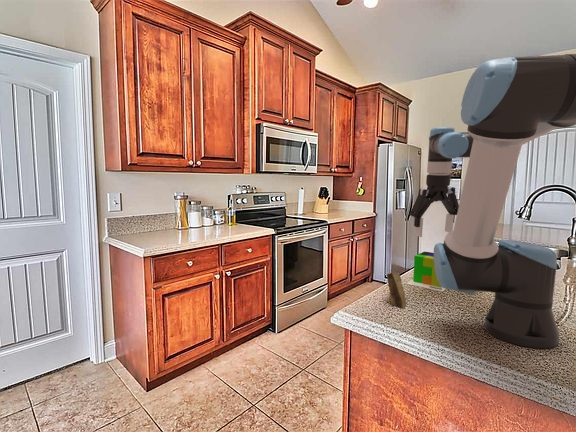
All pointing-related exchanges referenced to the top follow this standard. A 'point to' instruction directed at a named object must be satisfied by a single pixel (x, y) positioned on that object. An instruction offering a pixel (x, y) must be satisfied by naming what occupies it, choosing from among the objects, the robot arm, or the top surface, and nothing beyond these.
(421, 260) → the puzzle toy
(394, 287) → the rock
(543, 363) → the top surface
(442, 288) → the letter
